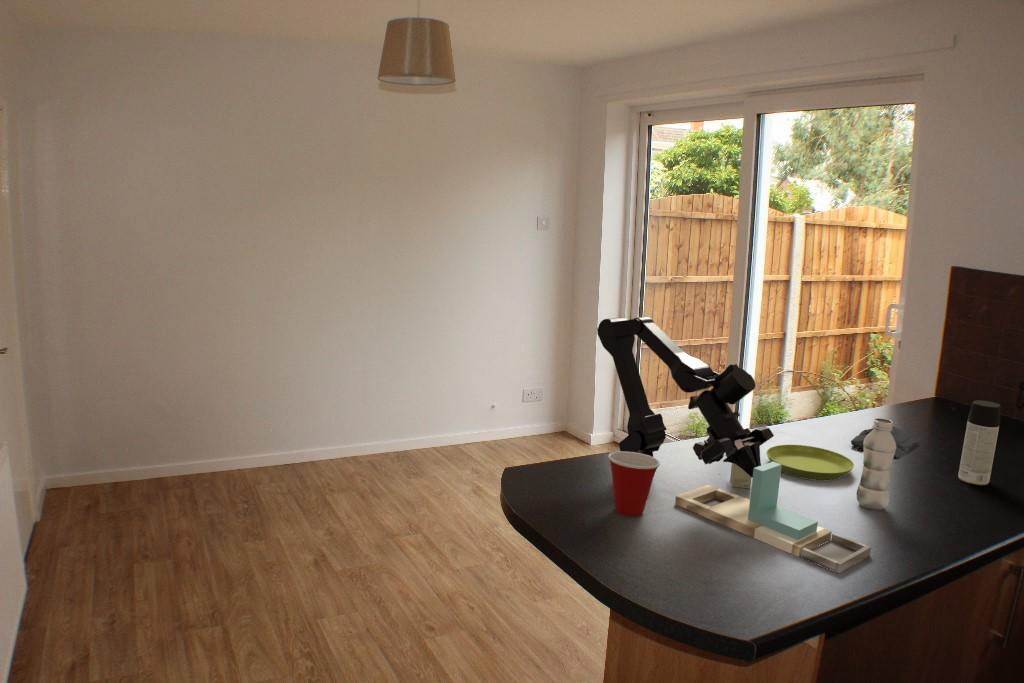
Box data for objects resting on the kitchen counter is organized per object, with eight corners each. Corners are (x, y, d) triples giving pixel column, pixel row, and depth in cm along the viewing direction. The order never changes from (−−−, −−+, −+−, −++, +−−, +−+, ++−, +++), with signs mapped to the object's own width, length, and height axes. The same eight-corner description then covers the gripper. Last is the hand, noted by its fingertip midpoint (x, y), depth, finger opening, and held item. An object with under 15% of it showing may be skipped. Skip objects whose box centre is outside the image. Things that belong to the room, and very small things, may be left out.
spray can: (991, 481, 184) (1005, 403, 181) (985, 488, 179) (999, 408, 176) (961, 473, 189) (974, 398, 185) (954, 480, 184) (967, 402, 180)
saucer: (798, 451, 202) (799, 440, 201) (869, 476, 185) (871, 464, 184) (748, 463, 190) (749, 451, 190) (819, 490, 174) (820, 477, 173)
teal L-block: (747, 519, 150) (753, 468, 148) (766, 511, 154) (772, 461, 152) (797, 540, 142) (805, 485, 140) (816, 531, 146) (823, 478, 144)
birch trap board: (675, 504, 161) (675, 495, 160) (708, 492, 168) (709, 484, 168) (838, 573, 133) (840, 563, 133) (869, 555, 141) (871, 546, 140)
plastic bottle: (874, 515, 160) (887, 426, 156) (848, 503, 166) (860, 417, 162) (894, 510, 163) (907, 423, 159) (867, 499, 169) (879, 415, 165)
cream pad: (754, 537, 146) (755, 528, 146) (786, 523, 154) (787, 514, 153) (791, 553, 140) (792, 544, 140) (823, 537, 148) (824, 528, 147)
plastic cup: (666, 512, 156) (670, 458, 154) (636, 526, 149) (640, 470, 147) (624, 496, 164) (628, 445, 162) (593, 509, 156) (597, 455, 154)
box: (750, 489, 172) (756, 436, 169) (731, 487, 172) (736, 434, 170) (748, 481, 177) (753, 429, 174) (729, 479, 178) (734, 427, 175)
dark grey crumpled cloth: (839, 447, 207) (841, 431, 206) (866, 432, 223) (868, 417, 222) (898, 462, 197) (901, 445, 196) (921, 445, 213) (924, 429, 212)
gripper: (720, 428, 168) (758, 489, 162) (667, 441, 157) (706, 508, 150) (754, 402, 161) (795, 465, 155) (701, 414, 149) (744, 483, 143)
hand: (760, 481), depth 151 cm, fingers closed, pressing on teal L-block
